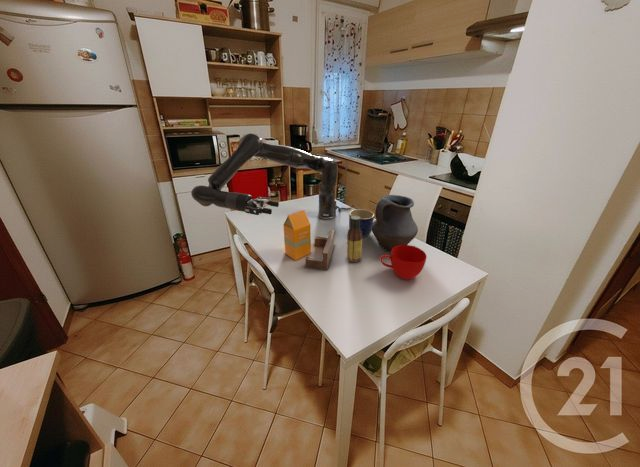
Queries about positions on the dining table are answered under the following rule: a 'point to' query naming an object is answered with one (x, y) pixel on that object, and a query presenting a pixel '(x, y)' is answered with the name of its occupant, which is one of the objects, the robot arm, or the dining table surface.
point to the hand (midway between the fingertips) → (275, 207)
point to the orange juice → (297, 235)
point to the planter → (363, 220)
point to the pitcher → (394, 222)
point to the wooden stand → (327, 252)
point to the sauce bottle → (354, 240)
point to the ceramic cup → (406, 261)
